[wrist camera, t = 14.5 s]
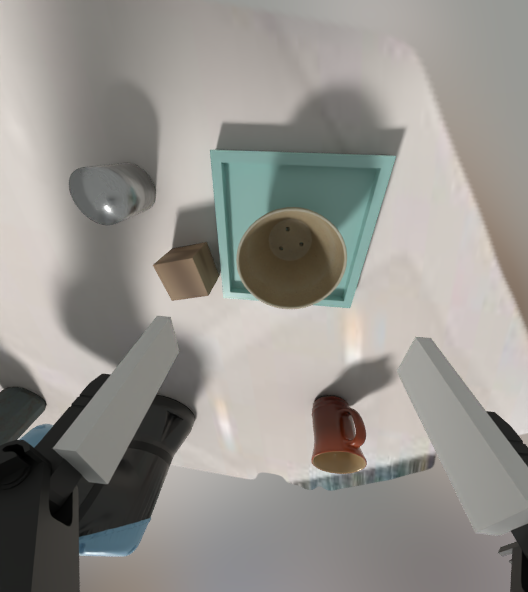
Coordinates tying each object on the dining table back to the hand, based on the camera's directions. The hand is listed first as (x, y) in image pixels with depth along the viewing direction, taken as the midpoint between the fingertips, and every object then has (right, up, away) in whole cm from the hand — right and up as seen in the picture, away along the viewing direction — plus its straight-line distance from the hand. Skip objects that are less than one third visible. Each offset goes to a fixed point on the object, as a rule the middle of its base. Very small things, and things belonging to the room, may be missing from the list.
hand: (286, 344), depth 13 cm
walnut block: (-11, +7, +18) cm, 22 cm away
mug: (+13, -18, +32) cm, 39 cm away
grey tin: (-16, +15, +13) cm, 26 cm away
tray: (+2, +10, +14) cm, 18 cm away
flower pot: (+2, +10, +14) cm, 17 cm away
